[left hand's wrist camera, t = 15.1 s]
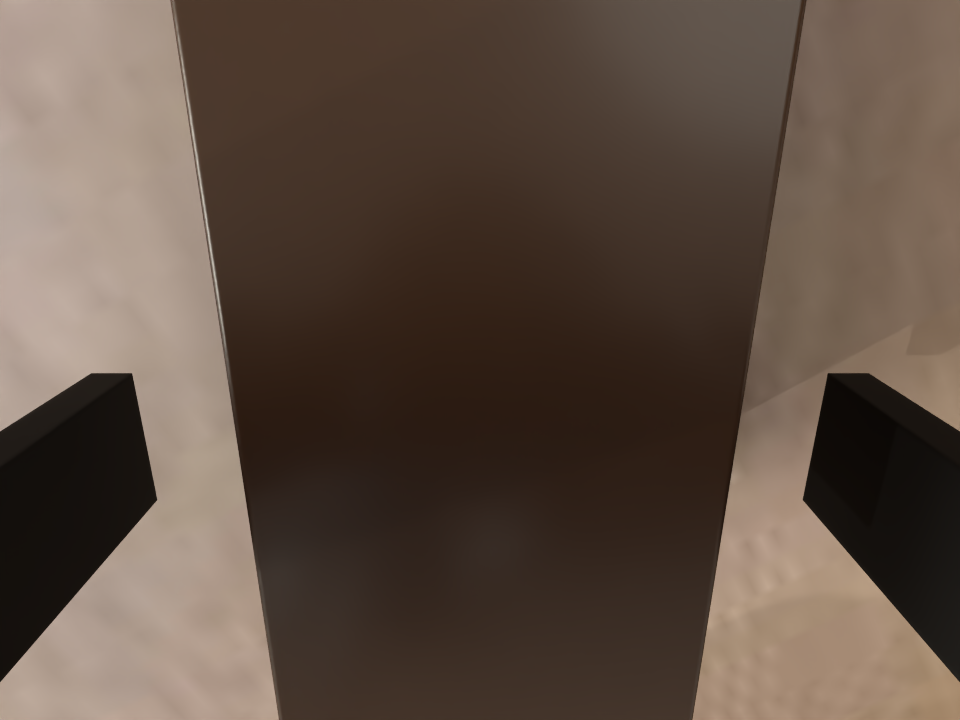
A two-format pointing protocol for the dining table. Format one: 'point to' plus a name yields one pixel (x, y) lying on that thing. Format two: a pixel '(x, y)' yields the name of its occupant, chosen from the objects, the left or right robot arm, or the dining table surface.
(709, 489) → the beam
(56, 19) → the dining table surface
